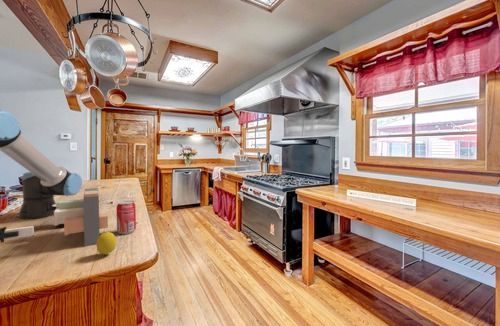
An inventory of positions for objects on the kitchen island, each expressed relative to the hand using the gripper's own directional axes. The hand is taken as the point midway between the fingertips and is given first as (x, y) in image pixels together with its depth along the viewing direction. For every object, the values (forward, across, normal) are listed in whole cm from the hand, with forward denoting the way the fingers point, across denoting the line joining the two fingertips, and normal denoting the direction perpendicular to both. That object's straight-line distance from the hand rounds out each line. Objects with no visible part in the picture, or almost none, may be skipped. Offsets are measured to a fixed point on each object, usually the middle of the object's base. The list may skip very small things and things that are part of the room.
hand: (33, 230), depth 76 cm
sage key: (+11, -14, +1) cm, 18 cm away
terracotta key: (+15, 0, -3) cm, 15 cm away
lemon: (+20, +15, -8) cm, 26 cm away
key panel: (+16, -7, -8) cm, 19 cm away
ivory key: (+11, -7, -1) cm, 13 cm away
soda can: (+28, -5, -8) cm, 30 cm away
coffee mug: (+7, -29, -8) cm, 31 cm away
